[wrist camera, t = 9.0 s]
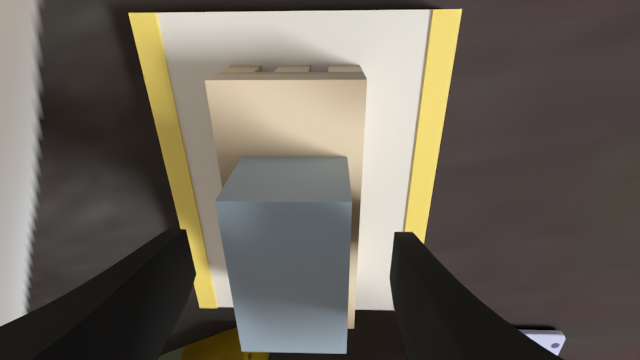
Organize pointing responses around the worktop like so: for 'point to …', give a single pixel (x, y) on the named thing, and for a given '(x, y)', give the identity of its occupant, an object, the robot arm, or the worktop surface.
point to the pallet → (293, 124)
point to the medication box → (215, 349)
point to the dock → (319, 52)
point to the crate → (288, 252)
